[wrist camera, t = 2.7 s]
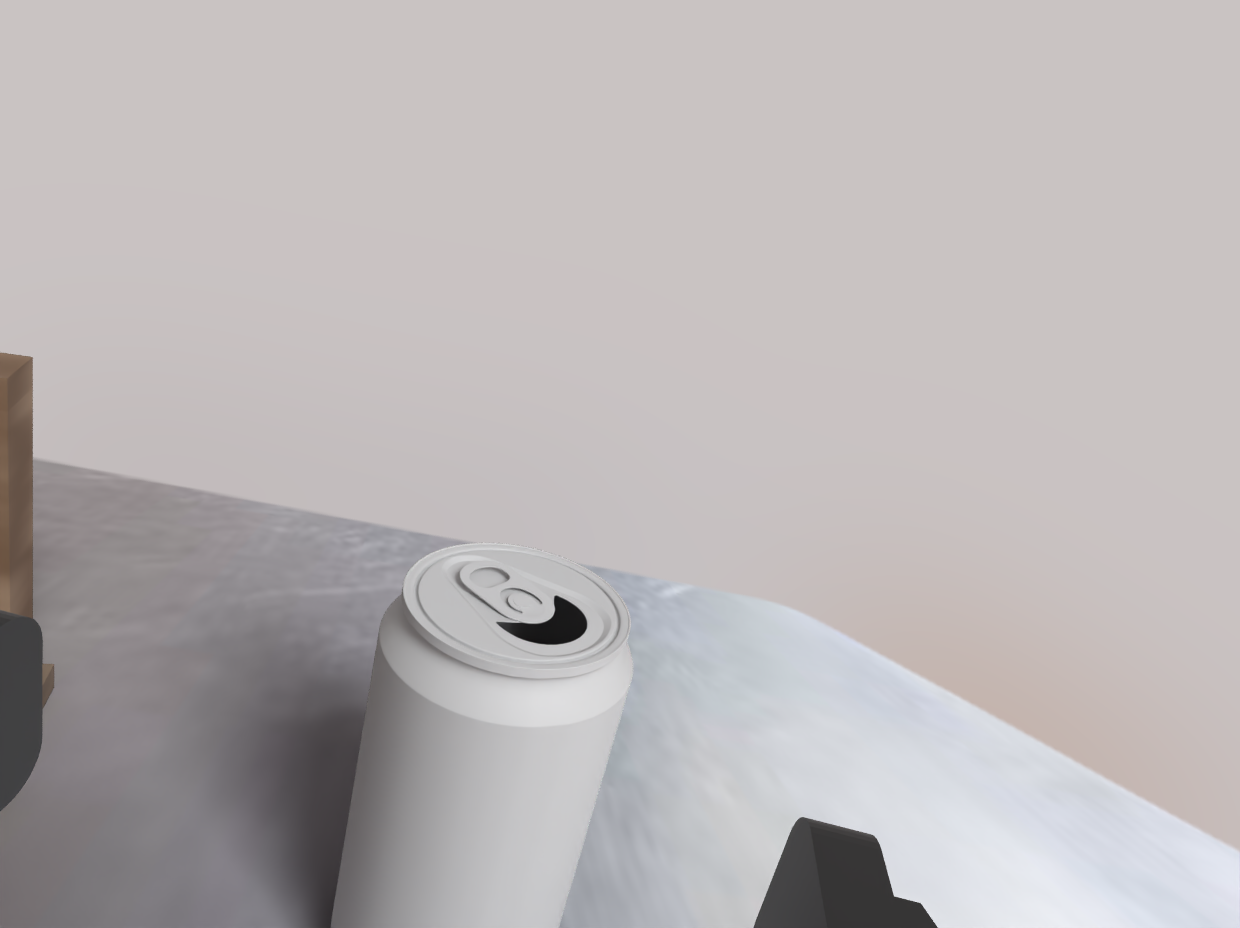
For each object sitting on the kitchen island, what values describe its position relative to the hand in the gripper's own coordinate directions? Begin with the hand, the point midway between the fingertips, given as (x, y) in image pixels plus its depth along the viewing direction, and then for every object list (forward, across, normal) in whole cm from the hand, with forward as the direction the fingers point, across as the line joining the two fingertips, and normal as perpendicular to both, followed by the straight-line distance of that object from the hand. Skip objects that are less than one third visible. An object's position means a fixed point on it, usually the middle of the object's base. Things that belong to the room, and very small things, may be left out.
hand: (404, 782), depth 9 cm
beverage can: (+12, 0, +16) cm, 20 cm away
